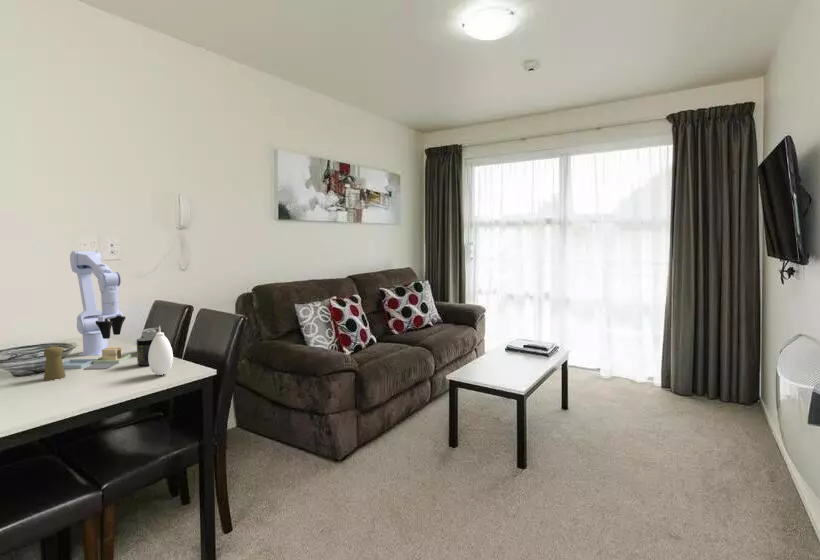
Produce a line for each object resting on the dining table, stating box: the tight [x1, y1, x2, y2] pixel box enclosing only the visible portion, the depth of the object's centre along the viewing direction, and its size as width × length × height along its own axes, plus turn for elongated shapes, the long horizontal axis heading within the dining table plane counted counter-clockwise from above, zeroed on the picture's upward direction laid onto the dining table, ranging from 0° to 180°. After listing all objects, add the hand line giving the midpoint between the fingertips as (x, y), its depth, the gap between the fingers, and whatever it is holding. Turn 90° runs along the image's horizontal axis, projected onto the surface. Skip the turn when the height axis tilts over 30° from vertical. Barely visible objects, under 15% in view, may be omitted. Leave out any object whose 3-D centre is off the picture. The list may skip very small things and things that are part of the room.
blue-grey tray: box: [62, 358, 97, 370], centre depth 174 cm, size 10×10×2 cm
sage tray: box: [92, 353, 132, 365], centre depth 181 cm, size 10×10×2 cm
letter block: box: [101, 346, 123, 360], centre depth 181 cm, size 5×5×5 cm
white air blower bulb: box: [148, 325, 174, 376], centre depth 162 cm, size 8×8×18 cm
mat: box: [83, 363, 118, 371], centre depth 172 cm, size 7×8×1 cm
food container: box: [141, 327, 159, 338], centre depth 195 cm, size 12×6×10 cm, turn 25°
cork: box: [43, 346, 66, 381], centre depth 158 cm, size 6×6×11 cm
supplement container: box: [136, 337, 155, 368], centre depth 175 cm, size 7×7×10 cm
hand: (111, 336), depth 180 cm, fingers open, 7 cm apart
